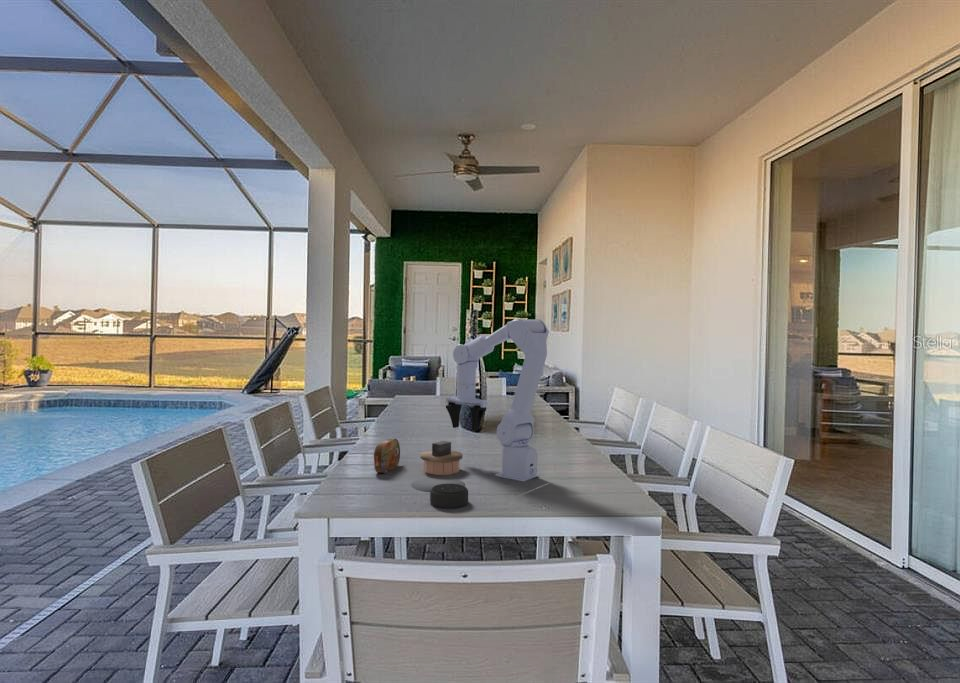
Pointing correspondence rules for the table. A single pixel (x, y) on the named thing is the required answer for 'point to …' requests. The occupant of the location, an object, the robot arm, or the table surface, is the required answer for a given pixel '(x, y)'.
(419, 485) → the coaster
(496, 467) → the table surface
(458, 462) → the bowl
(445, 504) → the smart speaker
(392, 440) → the tin
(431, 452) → the lid
